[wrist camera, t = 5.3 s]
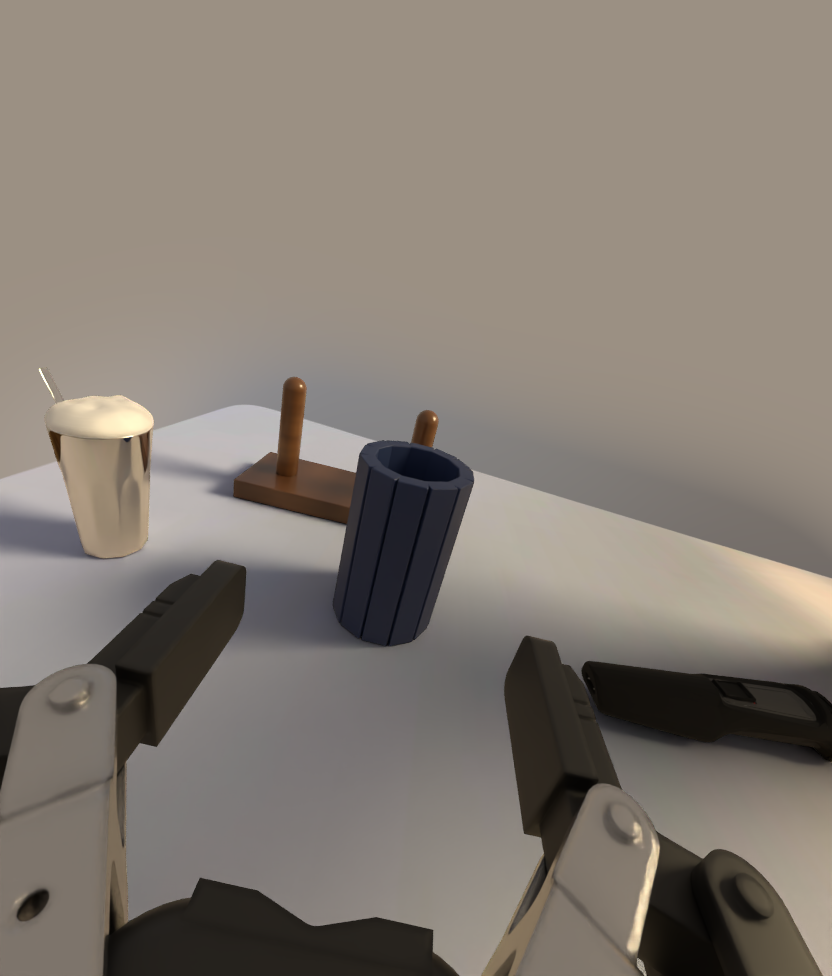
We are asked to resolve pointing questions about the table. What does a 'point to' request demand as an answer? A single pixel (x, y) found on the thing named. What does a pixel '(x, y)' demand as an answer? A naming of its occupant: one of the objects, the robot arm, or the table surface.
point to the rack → (308, 466)
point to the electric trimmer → (712, 705)
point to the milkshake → (103, 468)
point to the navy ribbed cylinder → (399, 539)
